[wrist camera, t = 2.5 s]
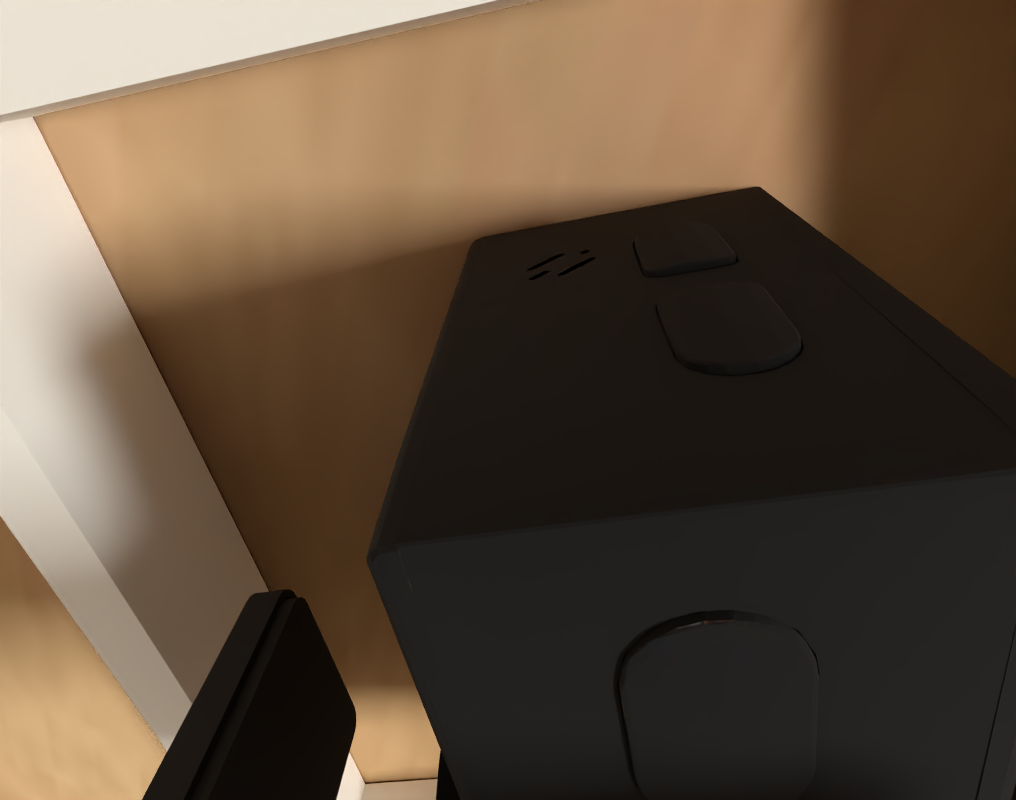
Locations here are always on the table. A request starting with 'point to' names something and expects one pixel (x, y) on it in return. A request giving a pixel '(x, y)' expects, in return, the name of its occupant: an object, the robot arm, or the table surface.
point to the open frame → (131, 346)
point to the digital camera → (704, 522)
